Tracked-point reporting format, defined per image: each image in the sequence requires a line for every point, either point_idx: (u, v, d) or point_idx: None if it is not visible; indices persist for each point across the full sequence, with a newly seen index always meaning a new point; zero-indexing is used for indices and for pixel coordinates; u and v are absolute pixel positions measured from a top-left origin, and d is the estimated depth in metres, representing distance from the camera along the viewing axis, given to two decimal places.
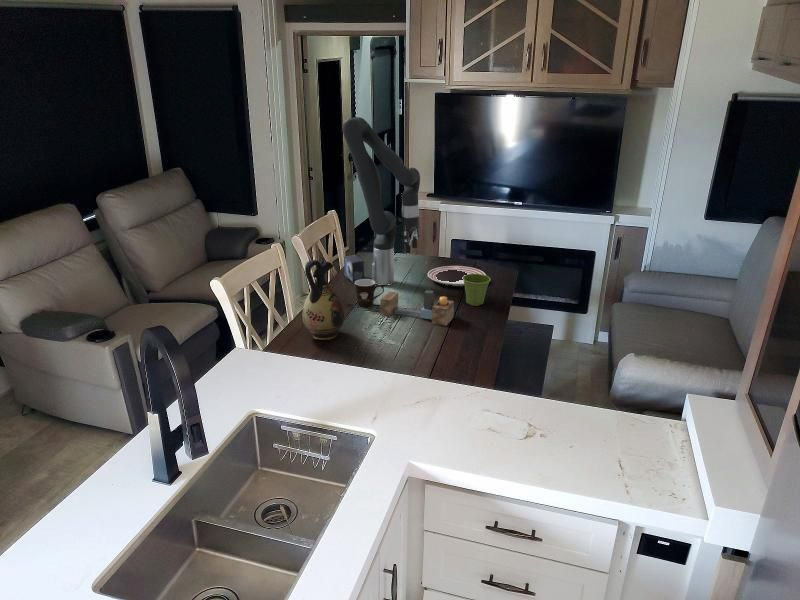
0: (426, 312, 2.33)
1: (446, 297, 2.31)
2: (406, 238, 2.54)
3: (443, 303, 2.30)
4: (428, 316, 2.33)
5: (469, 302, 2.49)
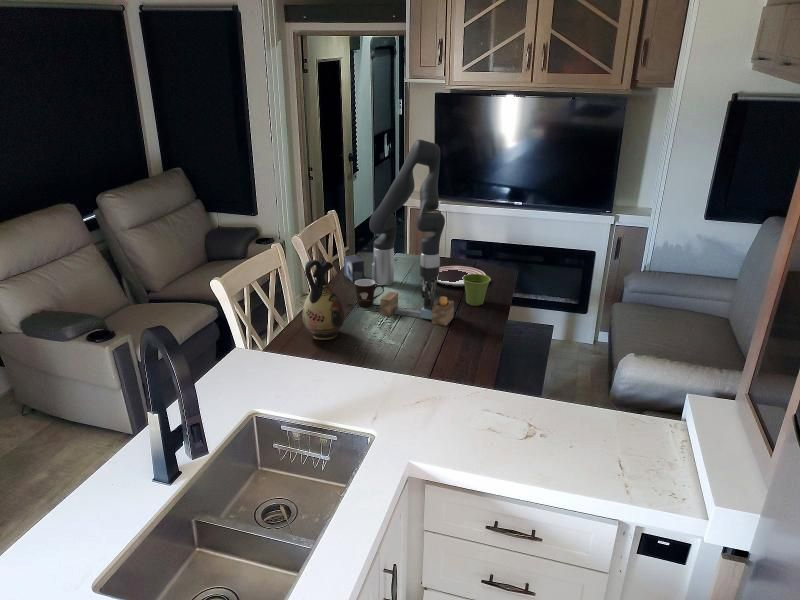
0: (426, 312, 2.33)
1: (446, 297, 2.31)
2: (425, 293, 2.26)
3: (443, 303, 2.30)
4: (428, 316, 2.33)
5: (469, 302, 2.49)
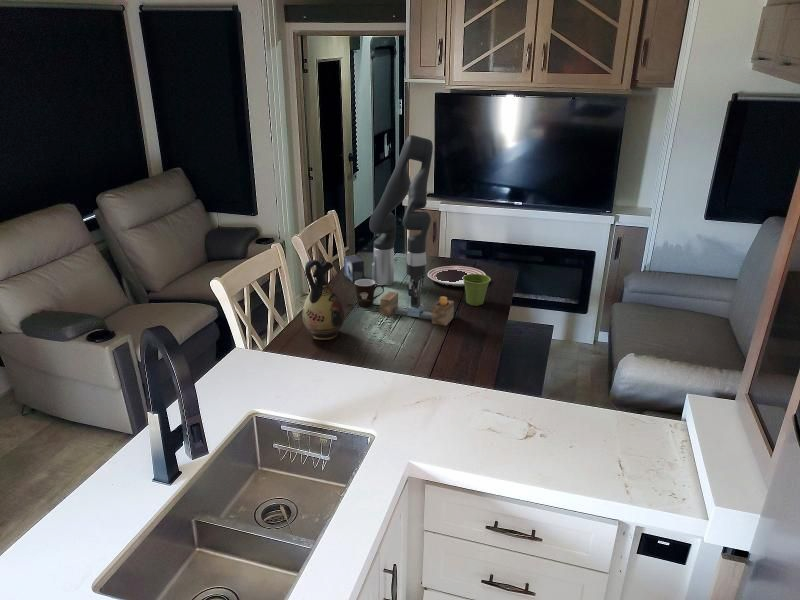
0: (413, 310, 2.35)
1: (446, 297, 2.31)
2: (412, 291, 2.28)
3: (443, 303, 2.30)
4: (415, 314, 2.35)
5: (469, 302, 2.49)
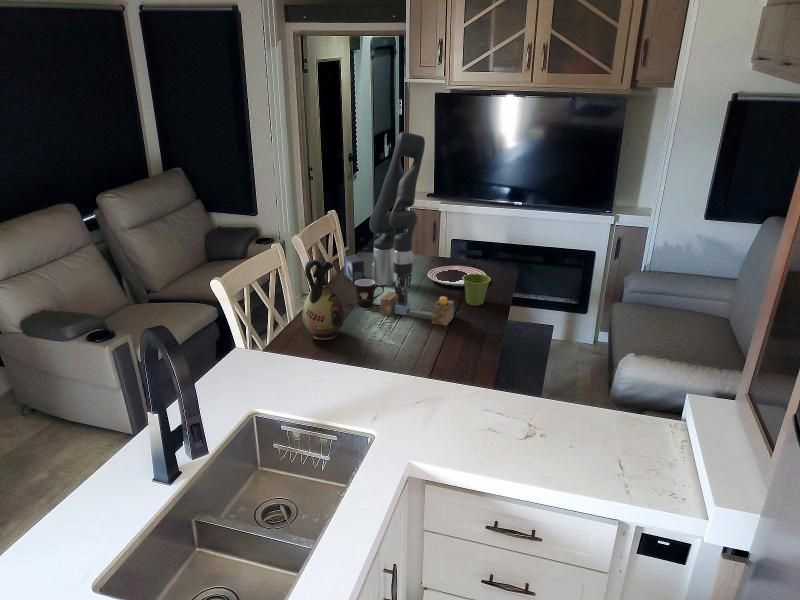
0: (400, 308, 2.37)
1: (446, 297, 2.31)
2: (398, 289, 2.30)
3: (443, 303, 2.30)
4: (402, 312, 2.37)
5: (469, 302, 2.49)
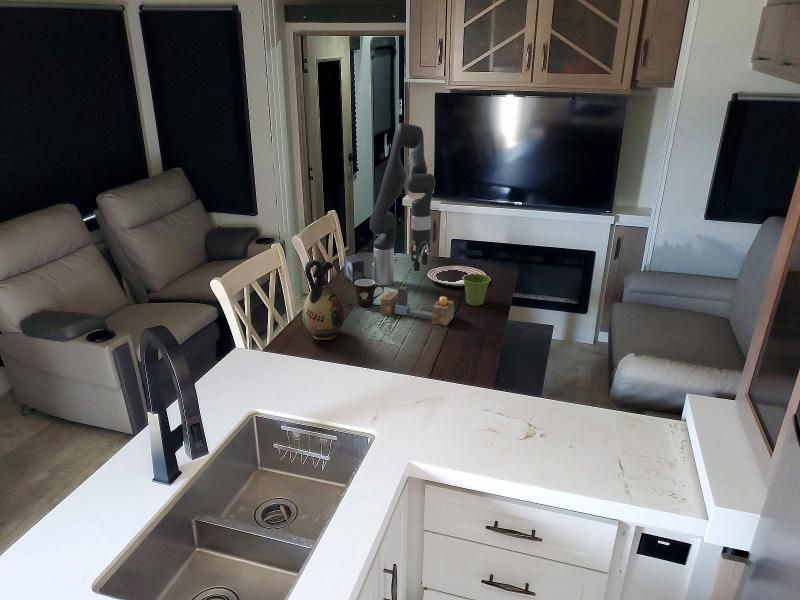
0: (400, 308, 2.37)
1: (446, 297, 2.31)
2: (415, 254, 2.20)
3: (443, 303, 2.30)
4: (402, 312, 2.37)
5: (469, 302, 2.49)
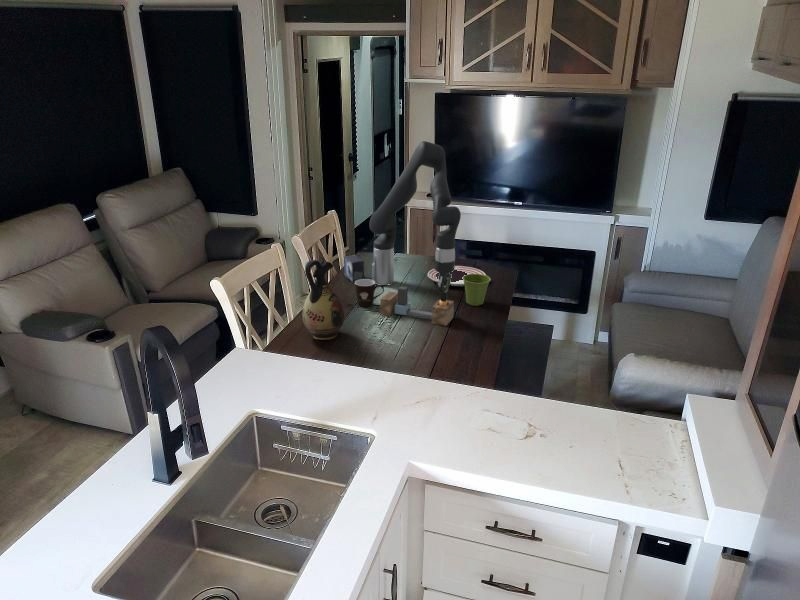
0: (400, 308, 2.37)
1: (446, 300, 2.31)
2: (441, 289, 2.24)
3: None
4: (402, 312, 2.37)
5: (469, 302, 2.49)
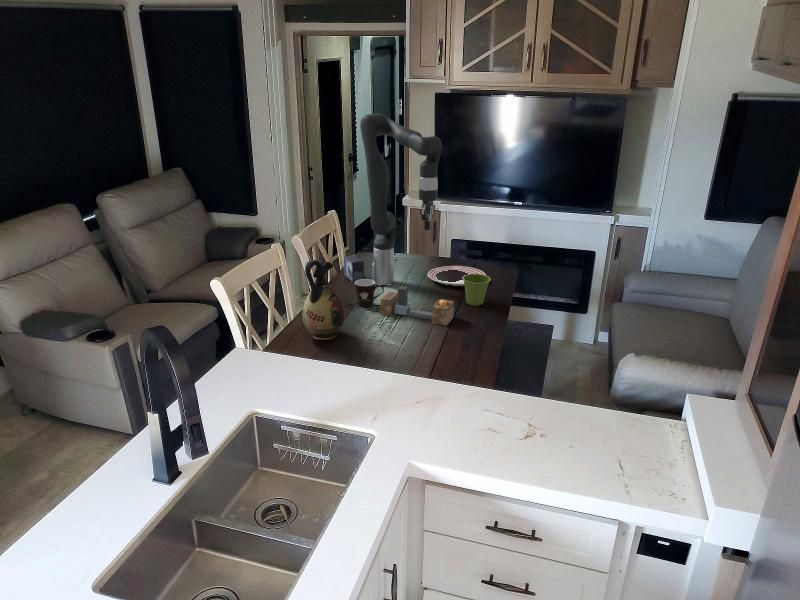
0: (400, 308, 2.37)
1: (446, 300, 2.31)
2: (425, 216, 2.37)
3: None
4: (402, 312, 2.37)
5: (469, 302, 2.49)
